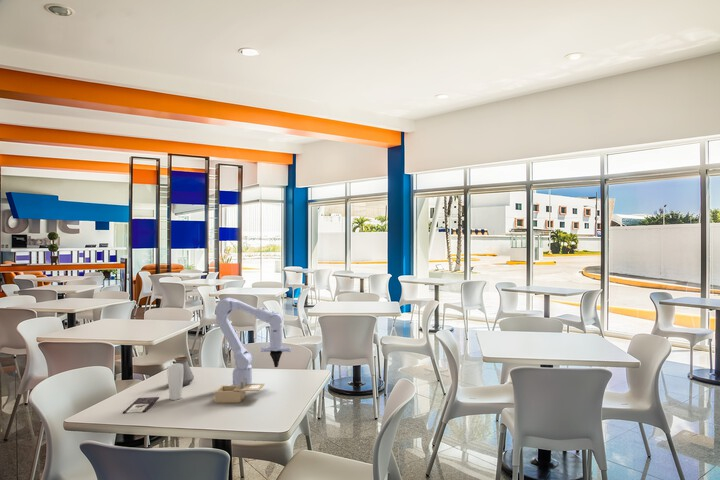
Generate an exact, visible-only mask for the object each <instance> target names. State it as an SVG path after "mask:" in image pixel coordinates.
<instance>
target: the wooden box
mask: <svg viewBox="0 0 720 480" xmlns="http://www.w3.org/2000/svg"><path fill="white" fill-rule="evenodd" d="M236 387H237V386H231V385H220V387H219V388H218V389H216V390H215V391H214V403H216V404H222V403H223V404H225V403H227V404H240V403H241V402H242V401H243V400H244V399H245V398H246V397H247V391H233V390H234V389H235V388H236Z"/></svg>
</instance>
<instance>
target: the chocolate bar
mask: <svg viewBox="0 0 720 480" xmlns="http://www.w3.org/2000/svg"><path fill="white" fill-rule="evenodd" d="M159 399H160V396H154V397H151V396H150V397H149V396H148V397H138V398H137V399H135V400H134V401H133V402H132V403H131V404H130V405H129V406H128V407H127V408H126V409H124V411H122V414H135V413H136V412H142V413H146V412H148V410H149V409H150V408H151V407H152V406H154V404H155V403H156V402H157V401H158V400H159ZM136 414H137V413H136Z"/></svg>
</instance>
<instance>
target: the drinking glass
mask: <svg viewBox="0 0 720 480" xmlns="http://www.w3.org/2000/svg"><path fill="white" fill-rule="evenodd" d="M166 374H167V383H168V394H169V395H168V397H169V400H170V401H177V400H180V399H181V398H183V387H184V386H183V374H184V368H183V364H181V363H175V364H173V363H171V364H170V363H169V364H167V373H166Z"/></svg>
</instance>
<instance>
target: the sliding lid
mask: <svg viewBox="0 0 720 480" xmlns="http://www.w3.org/2000/svg"><path fill="white" fill-rule="evenodd" d="M264 386H265V383H252V384H247V378H244V379H243V380H242V381H241V384H239V385H238V386H237V387H236V388H235V389H234V390H233V391H246V392H260V391H261V390H262V389H263V387H264Z"/></svg>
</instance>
